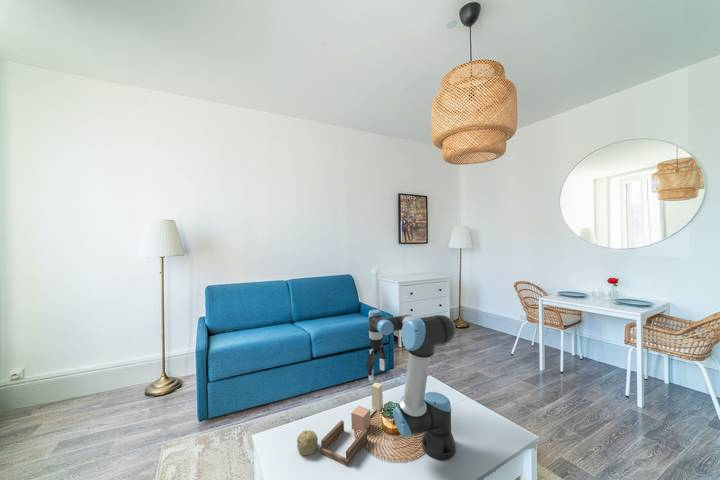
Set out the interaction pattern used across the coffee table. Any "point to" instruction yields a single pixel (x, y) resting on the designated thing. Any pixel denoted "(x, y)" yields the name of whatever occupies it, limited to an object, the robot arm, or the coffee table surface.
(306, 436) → the decorative object
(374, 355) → the robot arm
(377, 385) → the pair of rectangular blocks
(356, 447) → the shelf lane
